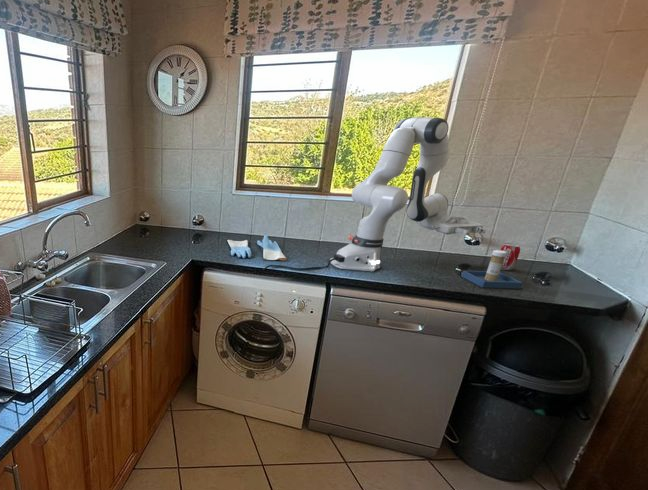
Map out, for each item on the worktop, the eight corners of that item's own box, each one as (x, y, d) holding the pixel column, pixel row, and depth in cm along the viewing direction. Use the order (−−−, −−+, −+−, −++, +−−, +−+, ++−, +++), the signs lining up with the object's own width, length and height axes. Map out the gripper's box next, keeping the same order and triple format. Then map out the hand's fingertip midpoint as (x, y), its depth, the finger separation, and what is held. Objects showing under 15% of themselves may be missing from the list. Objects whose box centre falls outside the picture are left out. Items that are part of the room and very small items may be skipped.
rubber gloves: (231, 258, 204) (232, 246, 201) (227, 241, 234) (228, 230, 232) (286, 261, 201) (288, 248, 198) (275, 243, 231) (276, 232, 229)
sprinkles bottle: (498, 281, 176) (508, 251, 171) (494, 283, 173) (504, 253, 168) (486, 277, 179) (495, 249, 174) (481, 279, 177) (491, 250, 172)
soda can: (516, 272, 189) (524, 247, 185) (497, 270, 191) (506, 245, 187) (509, 267, 195) (517, 243, 191) (491, 265, 197) (499, 242, 193)
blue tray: (482, 287, 171) (484, 281, 170) (460, 276, 183) (462, 270, 182) (520, 288, 170) (522, 282, 169) (496, 277, 182) (498, 271, 181)
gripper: (432, 219, 189) (460, 226, 177) (466, 217, 194) (496, 224, 181) (428, 232, 192) (455, 239, 179) (462, 230, 196) (491, 237, 184)
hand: (476, 232), depth 180 cm, fingers open, 8 cm apart
